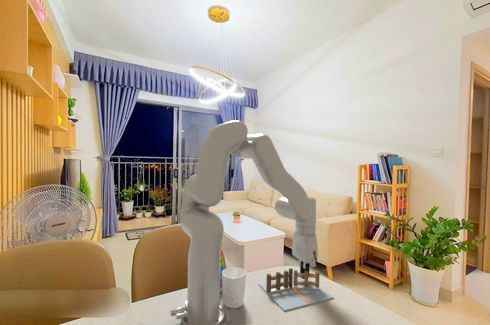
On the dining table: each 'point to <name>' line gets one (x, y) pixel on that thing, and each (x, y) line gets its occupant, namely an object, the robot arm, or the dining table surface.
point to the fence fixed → (279, 280)
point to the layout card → (296, 295)
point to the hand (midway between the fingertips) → (304, 277)
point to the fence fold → (306, 279)
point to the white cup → (233, 287)
